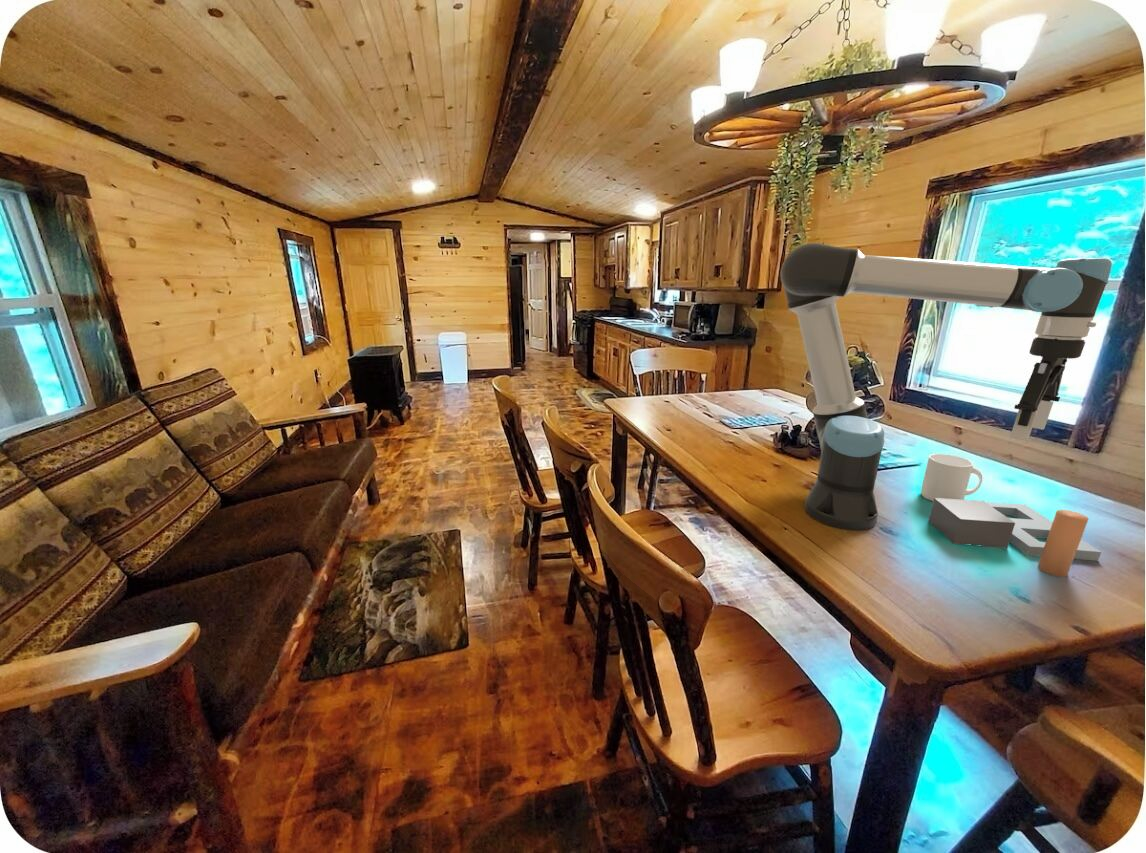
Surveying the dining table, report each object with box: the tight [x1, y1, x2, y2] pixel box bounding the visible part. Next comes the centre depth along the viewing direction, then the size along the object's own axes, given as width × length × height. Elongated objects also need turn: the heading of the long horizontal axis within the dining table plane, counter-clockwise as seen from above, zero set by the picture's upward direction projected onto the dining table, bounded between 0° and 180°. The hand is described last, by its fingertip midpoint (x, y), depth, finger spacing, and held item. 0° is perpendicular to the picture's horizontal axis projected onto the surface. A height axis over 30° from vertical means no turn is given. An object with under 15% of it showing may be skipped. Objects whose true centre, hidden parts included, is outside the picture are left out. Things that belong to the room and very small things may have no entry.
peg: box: [1037, 509, 1089, 578], centre depth 83 cm, size 4×4×12 cm
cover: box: [928, 498, 1015, 549], centre depth 97 cm, size 10×10×6 cm
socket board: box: [985, 501, 1102, 562], centre depth 98 cm, size 12×20×2 cm, turn 168°
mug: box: [920, 453, 983, 502], centre depth 112 cm, size 9×12×11 cm
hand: (1027, 433), depth 99 cm, fingers open, 13 cm apart
